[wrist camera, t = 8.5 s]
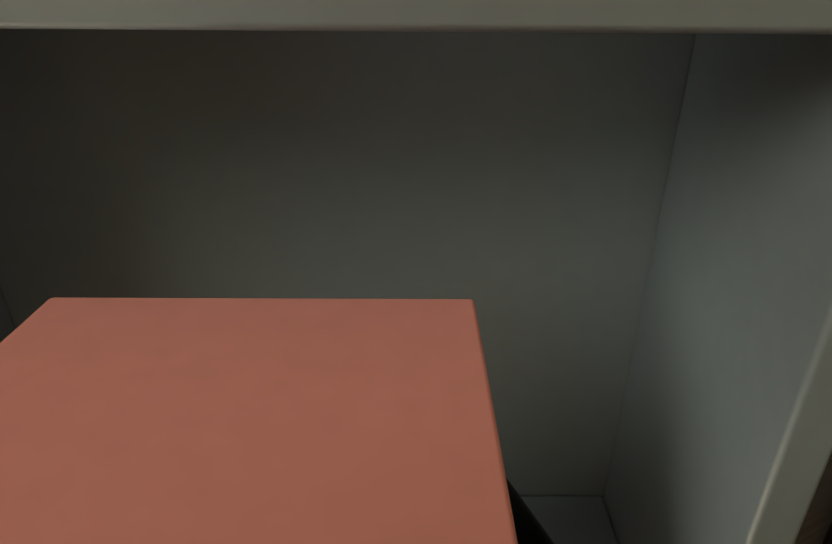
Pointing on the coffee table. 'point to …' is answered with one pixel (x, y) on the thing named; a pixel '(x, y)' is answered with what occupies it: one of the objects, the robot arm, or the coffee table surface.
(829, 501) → the coffee table surface
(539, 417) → the bin
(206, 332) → the pink cube
